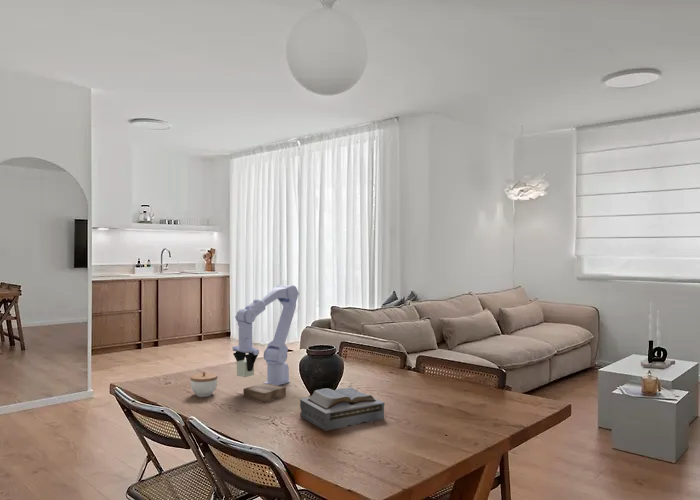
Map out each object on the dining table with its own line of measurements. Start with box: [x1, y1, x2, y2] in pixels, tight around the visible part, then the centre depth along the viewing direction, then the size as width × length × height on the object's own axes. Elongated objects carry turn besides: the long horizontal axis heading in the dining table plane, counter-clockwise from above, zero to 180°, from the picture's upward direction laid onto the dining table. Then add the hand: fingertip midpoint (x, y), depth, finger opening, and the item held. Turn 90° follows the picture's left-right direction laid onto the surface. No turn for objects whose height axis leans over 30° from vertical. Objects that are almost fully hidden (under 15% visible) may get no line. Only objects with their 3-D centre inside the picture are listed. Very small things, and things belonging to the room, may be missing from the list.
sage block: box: [236, 358, 255, 378], centre depth 233 cm, size 5×5×6 cm
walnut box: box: [242, 382, 287, 403], centre depth 225 cm, size 12×12×4 cm
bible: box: [299, 387, 385, 432], centre depth 198 cm, size 23×27×10 cm
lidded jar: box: [190, 371, 218, 398], centre depth 228 cm, size 11×11×9 cm
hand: (245, 370), depth 233 cm, fingers closed on sage block, 5 cm apart
